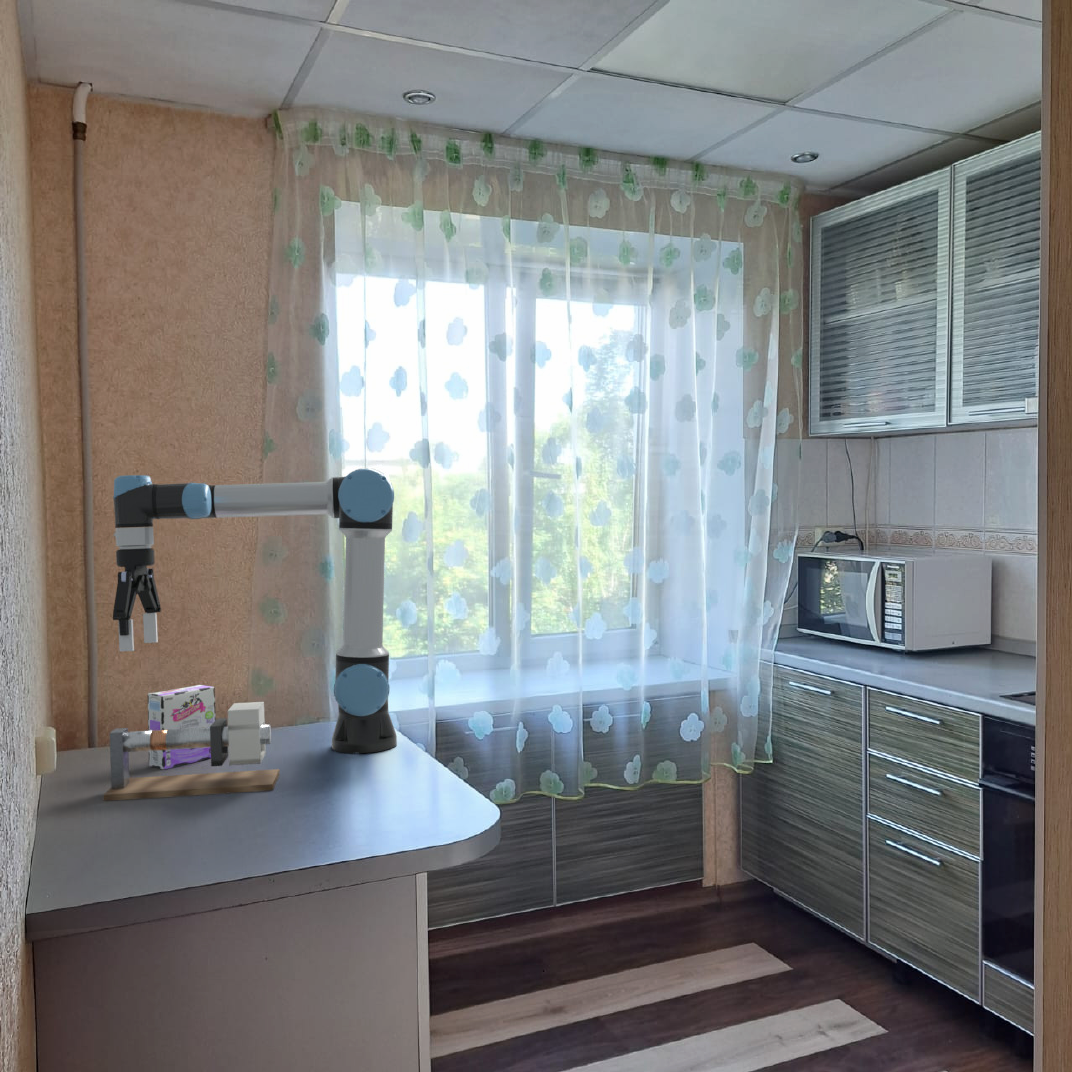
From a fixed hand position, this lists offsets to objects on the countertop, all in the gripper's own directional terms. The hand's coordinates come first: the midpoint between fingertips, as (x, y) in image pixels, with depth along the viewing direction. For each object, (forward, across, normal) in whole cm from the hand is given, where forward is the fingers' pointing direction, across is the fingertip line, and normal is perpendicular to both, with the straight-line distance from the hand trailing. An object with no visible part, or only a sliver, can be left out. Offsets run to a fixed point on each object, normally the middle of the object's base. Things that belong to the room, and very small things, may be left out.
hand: (139, 646), depth 209 cm
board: (+28, +12, +15) cm, 33 cm away
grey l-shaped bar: (+26, +12, +14) cm, 32 cm away
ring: (+23, +11, +20) cm, 32 cm away
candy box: (+28, -10, +5) cm, 30 cm away
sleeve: (+23, +11, +25) cm, 35 cm away
